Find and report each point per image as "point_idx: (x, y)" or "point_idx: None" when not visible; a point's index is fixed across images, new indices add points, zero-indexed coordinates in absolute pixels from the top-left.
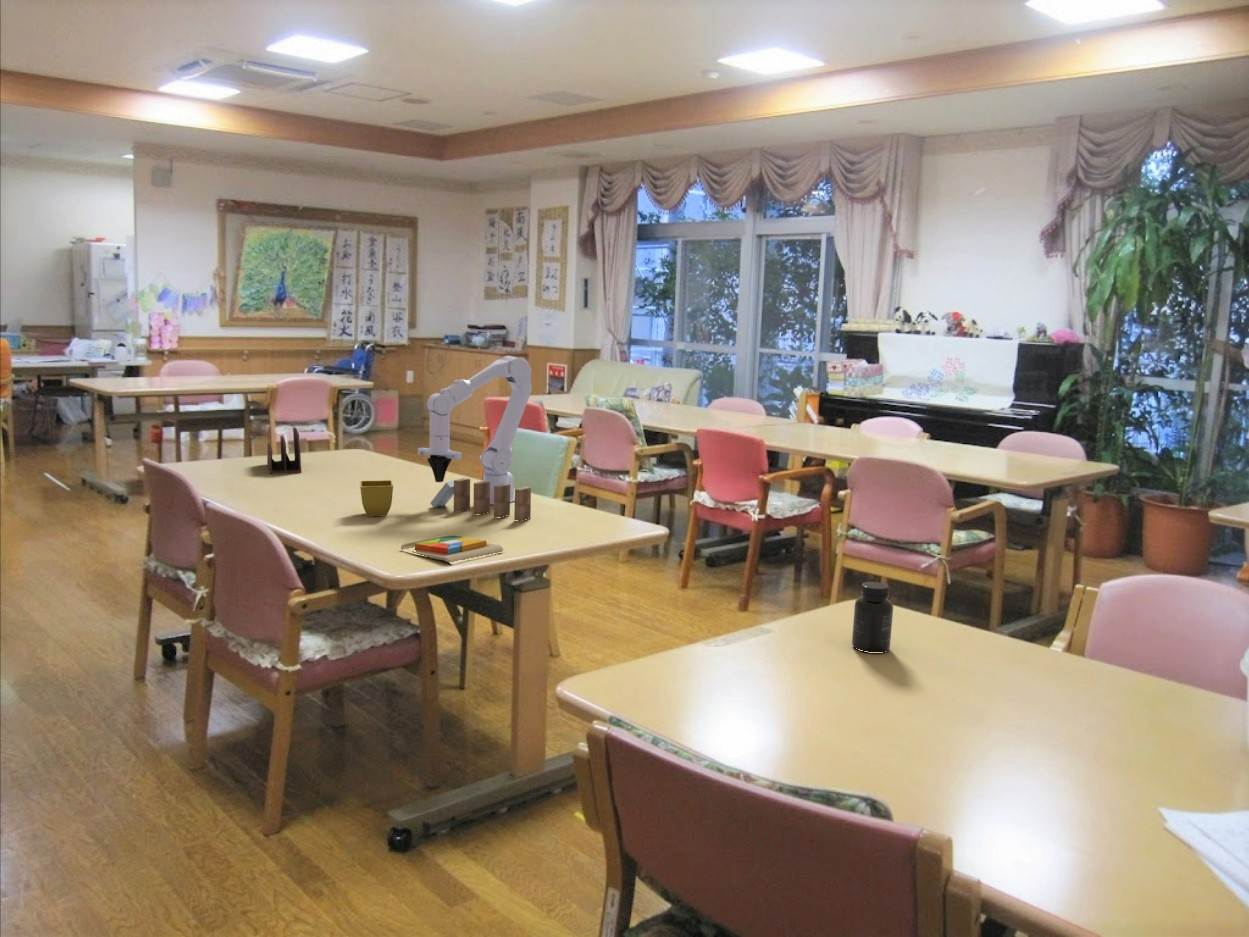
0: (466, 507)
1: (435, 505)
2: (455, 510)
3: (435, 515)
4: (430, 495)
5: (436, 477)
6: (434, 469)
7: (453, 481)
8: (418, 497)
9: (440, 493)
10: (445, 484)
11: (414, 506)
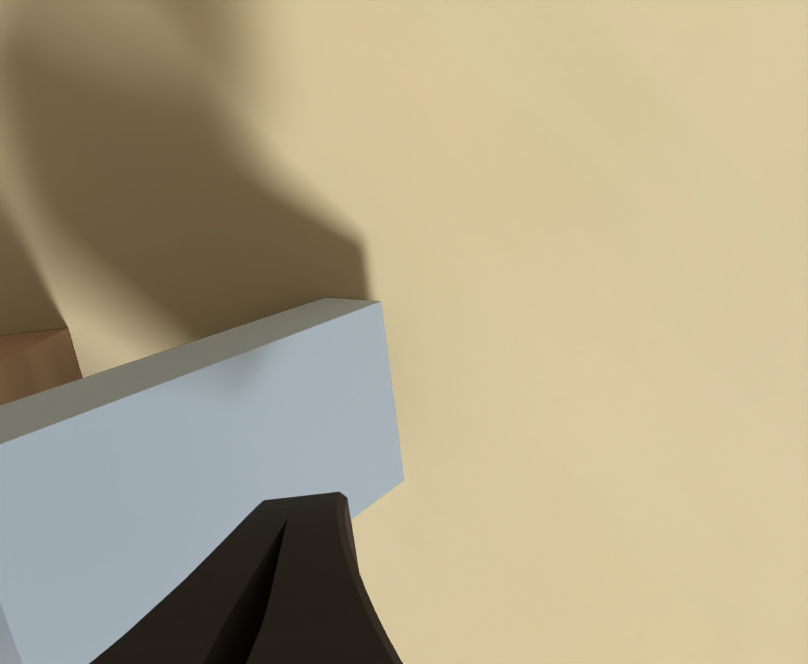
0: None
1: (303, 305)
2: (38, 334)
3: (9, 25)
4: (764, 655)
5: (282, 530)
6: (279, 647)
7: (10, 635)
8: (800, 533)
9: (187, 363)
10: (4, 440)
11: (543, 211)
